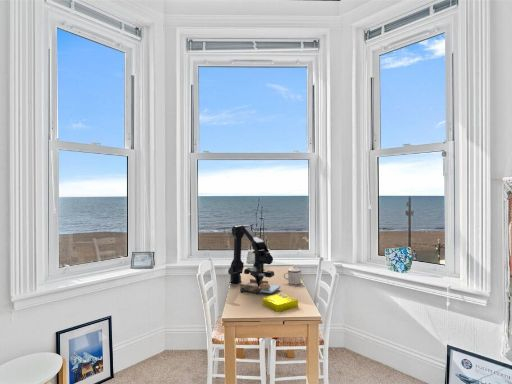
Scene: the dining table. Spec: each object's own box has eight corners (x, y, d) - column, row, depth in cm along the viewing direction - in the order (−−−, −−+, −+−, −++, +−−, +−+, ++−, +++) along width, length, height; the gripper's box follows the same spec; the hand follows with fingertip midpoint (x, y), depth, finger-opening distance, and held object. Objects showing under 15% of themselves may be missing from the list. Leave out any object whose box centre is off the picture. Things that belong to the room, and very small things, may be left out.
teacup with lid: (299, 280, 227) (299, 264, 227) (302, 284, 218) (302, 267, 218) (282, 281, 226) (282, 264, 226) (284, 285, 217) (284, 267, 217)
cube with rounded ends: (258, 289, 200) (258, 284, 200) (261, 287, 203) (260, 282, 203) (269, 290, 197) (268, 284, 197) (271, 288, 199) (271, 283, 200)
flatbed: (239, 291, 203) (239, 284, 203) (251, 285, 217) (251, 278, 217) (259, 294, 196) (259, 287, 196) (270, 287, 211) (270, 280, 211)
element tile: (261, 305, 179) (261, 296, 179) (282, 300, 188) (282, 291, 188) (277, 313, 167) (277, 304, 167) (299, 307, 175) (299, 298, 175)
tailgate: (260, 290, 197) (271, 291, 194) (269, 284, 210) (280, 286, 206) (260, 291, 197) (271, 293, 194) (269, 286, 210) (280, 287, 206)
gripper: (239, 262, 199) (239, 287, 199) (267, 265, 190) (266, 292, 190) (248, 258, 209) (248, 282, 209) (274, 262, 200) (274, 287, 200)
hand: (258, 286), depth 202 cm, fingers closed
